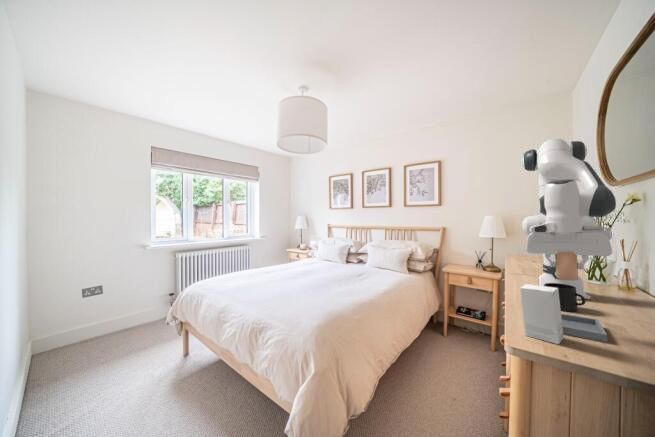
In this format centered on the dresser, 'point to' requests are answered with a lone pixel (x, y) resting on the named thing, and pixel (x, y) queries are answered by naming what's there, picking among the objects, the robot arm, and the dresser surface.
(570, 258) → the pinkish-tan rounded block
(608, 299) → the dresser surface
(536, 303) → the skincare box
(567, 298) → the mug
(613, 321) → the dresser surface
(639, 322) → the dresser surface
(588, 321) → the tray
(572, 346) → the dresser surface
